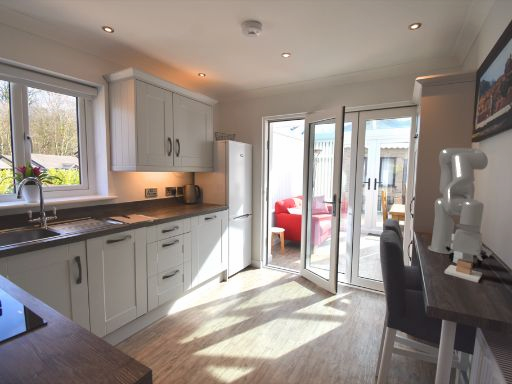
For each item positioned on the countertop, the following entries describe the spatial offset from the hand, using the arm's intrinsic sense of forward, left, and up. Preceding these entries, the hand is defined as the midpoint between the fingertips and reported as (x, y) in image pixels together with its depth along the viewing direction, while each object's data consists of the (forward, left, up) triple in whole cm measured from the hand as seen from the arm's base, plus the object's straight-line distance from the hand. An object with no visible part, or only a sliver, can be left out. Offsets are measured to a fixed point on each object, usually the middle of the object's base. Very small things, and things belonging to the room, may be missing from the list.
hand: (464, 264), depth 121 cm
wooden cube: (0, 0, -3) cm, 3 cm away
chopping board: (0, 0, -5) cm, 5 cm away
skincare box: (-17, -4, -5) cm, 18 cm away
